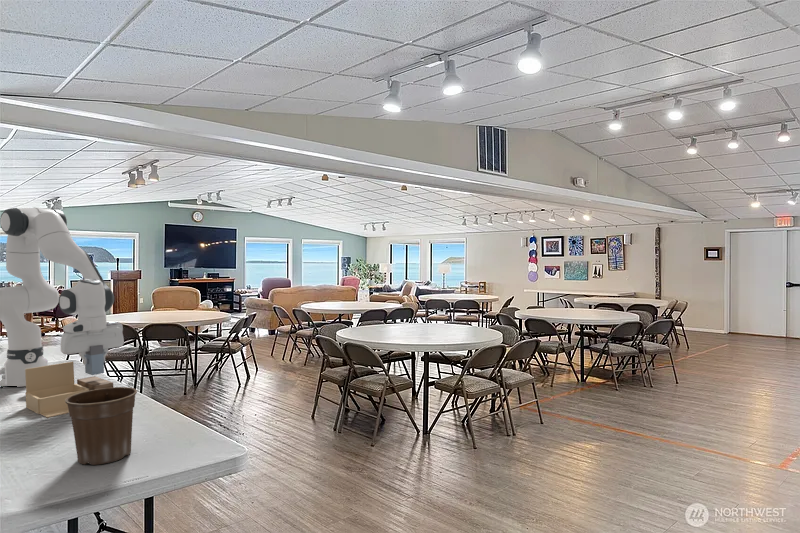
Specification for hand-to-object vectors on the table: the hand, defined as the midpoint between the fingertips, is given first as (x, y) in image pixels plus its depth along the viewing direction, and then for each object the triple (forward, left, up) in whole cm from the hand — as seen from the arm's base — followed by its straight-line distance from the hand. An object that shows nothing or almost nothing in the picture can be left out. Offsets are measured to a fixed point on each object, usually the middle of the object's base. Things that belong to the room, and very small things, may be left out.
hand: (94, 362), depth 199 cm
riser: (0, 0, -13) cm, 13 cm away
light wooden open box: (+3, -12, -12) cm, 18 cm away
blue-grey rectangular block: (0, 0, -4) cm, 4 cm away
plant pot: (+62, -22, -13) cm, 67 cm away
